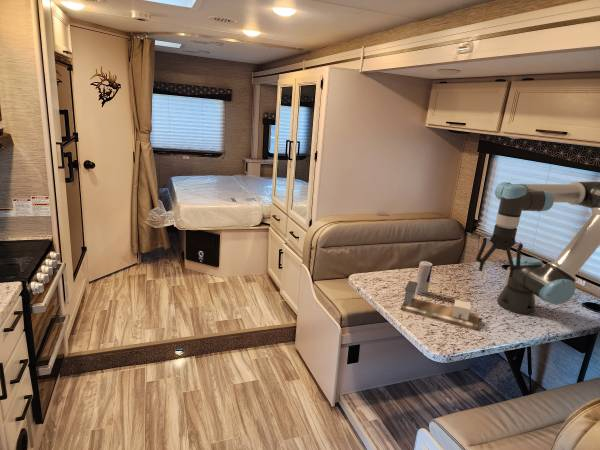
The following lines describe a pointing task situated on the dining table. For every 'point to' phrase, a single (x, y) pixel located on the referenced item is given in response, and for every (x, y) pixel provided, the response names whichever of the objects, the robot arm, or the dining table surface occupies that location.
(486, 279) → the dining table surface
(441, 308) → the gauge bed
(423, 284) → the beverage can
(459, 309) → the cream cube with rod
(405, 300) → the two-tone oblong block
